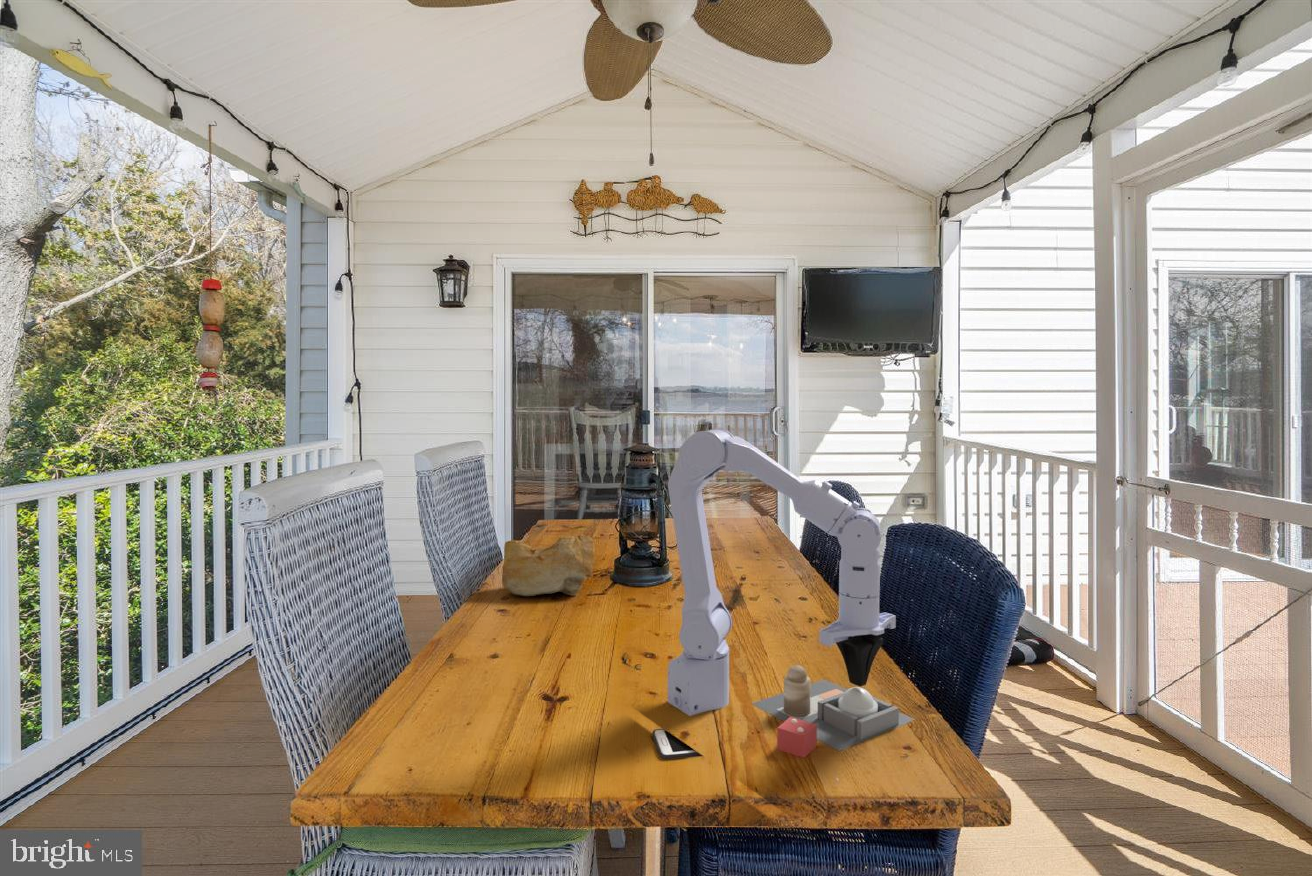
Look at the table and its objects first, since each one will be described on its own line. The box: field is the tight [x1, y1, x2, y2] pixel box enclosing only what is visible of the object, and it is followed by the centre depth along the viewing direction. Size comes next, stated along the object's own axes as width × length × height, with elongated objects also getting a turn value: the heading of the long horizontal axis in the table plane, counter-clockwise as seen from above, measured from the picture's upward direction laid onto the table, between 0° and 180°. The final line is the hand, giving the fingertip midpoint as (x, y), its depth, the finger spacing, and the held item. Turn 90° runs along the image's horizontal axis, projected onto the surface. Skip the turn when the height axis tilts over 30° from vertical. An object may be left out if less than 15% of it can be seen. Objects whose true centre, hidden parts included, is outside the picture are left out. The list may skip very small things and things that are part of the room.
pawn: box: [783, 664, 812, 717], centre depth 108 cm, size 4×4×7 cm
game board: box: [751, 679, 916, 752], centre depth 108 cm, size 16×18×4 cm
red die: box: [776, 717, 818, 759], centre depth 97 cm, size 4×4×4 cm
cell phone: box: [651, 728, 704, 760], centre depth 101 cm, size 8×15×1 cm, turn 101°
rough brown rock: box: [501, 534, 595, 597], centre depth 179 cm, size 23×17×15 cm
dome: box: [838, 686, 878, 720], centre depth 104 cm, size 6×6×5 cm
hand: (857, 683), depth 104 cm, fingers closed
